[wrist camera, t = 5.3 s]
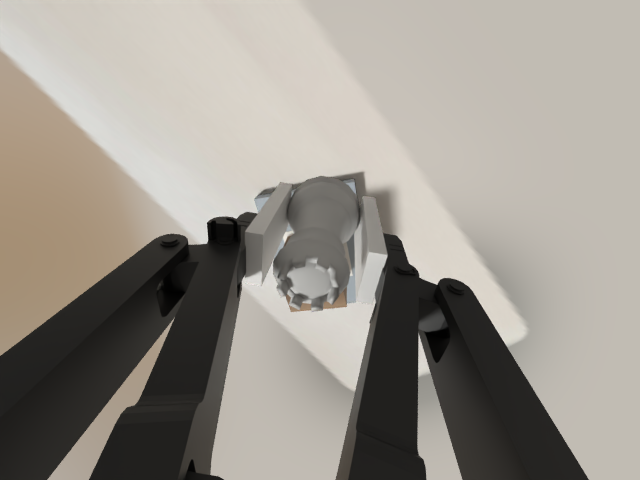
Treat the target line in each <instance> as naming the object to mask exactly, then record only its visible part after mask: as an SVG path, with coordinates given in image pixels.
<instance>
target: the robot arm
mask: <svg viewBox="0 0 640 480" xmlns="http://www.w3.org/2000/svg"><path fill="white" fill-rule="evenodd" d="M291 196H292V184H288V183H282V182H280V184H279V185H278V186H277V188H276V189H275V190H274V192H273V193H272V195H271V196H270V197H269V199H268V200H267V202H266V203H265V204H264V206H263V207H262V209H261V210H260V211H259V213H258V214H256V213H250V212H246V213H244V214H241V215H240V216H239V217H238V218H237V219H235V218H233V217H217V218H213V219H211V220H209V221H208V222H207V228H208V243H207V244H201V245H188V239H187V238H186V237H185V236H182V235H179V234H167V235H163V236H160V237H158V238H156V239H154V240H153V241H151V242H150V243H149V244H147V245H146V246H145V247H144V248H142V249H141V250H140V251H138V252H137V253H136V254H135V255H133V256H132V257H130V258H129V259H128V260H126V261H125V262H124V263H122V264H121V265H120V266H118V267H117V268H116V269H115V270H113V271H112V272H111V273H109V274H108V275H107V276H105V277H104V278H103V279H101V280H100V281H99V282H97V283H96V284H95V285H93V286H92V287H91V288H89V289H88V290H87V291H86V292H84V293H83V294H82V295H80V296H79V297H78V298H76V299H75V300H74V301H72V302H71V303H70V304H68V305H67V306H66V307H64V308H63V309H62V310H60V311H59V312H58V313H57V314H55V315H54V316H53V317H51V318H50V319H49V320H47V321H46V322H45V323H44V324H42V325H41V326H39V327H38V328H37V329H35V330H34V331H33V332H32V333H30V334H29V335H28V336H26V337H25V338H24V339H22V340H21V341H20V342H18V343H17V344H16V345H14V346H13V347H12V348H11V349H9V350H8V351H6V352H5V353H4V354H3V355H1V356H0V480H47V479H48V478H49V477H50V475H51V474H52V473H53V471H54V470H55V469H56V468H57V466H58V465H59V464H60V463H61V461H62V460H63V459H64V457H65V456H66V455H67V454H68V452H69V451H70V450H71V449H72V447H73V446H74V445H75V443H76V442H77V441H78V439H79V438H80V437H81V436H82V435H83V433H84V432H85V431H86V430H87V428H88V427H89V426H90V424H91V423H92V422H93V421H94V419H95V418H96V417H97V416H98V414H99V413H100V412H101V410H102V409H103V408H104V407H105V405H106V404H107V403H108V401H109V400H110V399H111V398H112V396H113V395H114V394H115V393H116V391H117V390H118V389H119V388H120V386H121V385H122V384H123V382H124V381H125V380H126V378H127V377H128V376H129V375H130V373H131V372H132V371H133V369H134V368H135V367H136V366H137V365H138V363H139V362H140V361H141V359H142V358H143V357H144V356H145V354H146V353H147V352H148V350H149V349H150V348H151V347H152V345H153V344H154V343H155V342H156V340H157V339H158V338H159V337H160V335H161V334H162V333H163V331H164V330H165V329H166V328H167V326H168V325H169V324H170V323H171V321H172V320H173V319H174V317H175V319H174V321H173V323H172V326H171V328H170V330H169V333H168V335H167V337H166V339H165V342H164V344H163V347H162V349H161V351H160V353H159V356H158V358H157V360H156V362H155V365H154V367H153V369H152V372H151V374H150V376H149V379H148V381H147V383H146V385H145V388H144V390H143V392H142V395H141V397H140V399H139V401H138V402H137V403H136V404H135V405H134V406H131V407H127V408H126V409H125V410H124V411H123V413H122V414H121V415H120V417H119V419H118V420H117V422H116V424H115V426H114V428H113V430H112V432H111V434H110V436H109V439H108V441H107V443H106V445H105V447H104V449H103V451H102V453H101V456H100V458H99V460H98V462H97V464H96V466H95V468H94V470H93V473H92V475H91V477H90V479H89V480H224V479H222V478H220V477H218V476H212V475H210V470H211V458H212V451H213V445H214V439H215V434H216V428H217V423H218V417H219V411H220V406H221V401H222V395H223V390H224V384H225V378H226V373H227V367H228V362H229V356H230V350H231V345H232V340H233V334H234V329H235V323H236V317H237V312H238V306H239V301H240V295H241V290H242V279H243V277H244V276H245V284H250V285H256V286H262V284H263V282H264V279H265V277H266V275H267V273H268V270H269V268H270V266H271V264H272V261H273V259H274V257H275V255H276V252H277V250H278V248H279V245H280V243H281V241H282V239H283V236H284V234H285V232H286V230H287V227H288V225H289V222H288V205H289V203H290V201H291ZM354 245H355V286H356V302H358V303H364V304H370V305H373V301H374V298H375V299H376V304H375V307H374V310H373V313H372V317H371V320H370V328H369V332H368V337H367V341H366V346H365V350H364V355H363V359H362V364H361V368H360V373H359V377H358V382H357V386H356V391H355V396H354V400H353V405H352V409H351V413H350V418H349V423H348V427H347V431H346V436H345V440H344V445H343V450H342V454H341V458H340V464H339V468H338V472H337V476H336V480H426V469H425V464H424V460H423V459H422V458H421V457H420V456H419V454H418V450H417V422H418V421H417V420H418V331H419V335H420V339H421V342H422V345H423V349H424V352H425V355H426V359H427V362H428V365H429V369H430V372H431V375H432V379H433V382H434V386H435V389H436V392H437V395H438V399H439V402H440V406H441V409H442V412H443V416H444V419H445V422H446V425H447V429H448V432H449V435H450V439H451V442H452V446H453V449H454V453H455V456H456V459H457V463H458V466H459V469H460V473H461V476H462V479H463V480H589V479H588V478H587V476H586V474H585V473H584V471H583V469H582V468H581V466H580V465H579V463H578V461H577V460H576V458H575V456H574V455H573V453H572V452H571V450H570V448H569V447H568V445H567V444H566V442H565V440H564V439H563V437H562V435H561V434H560V432H559V431H558V429H557V427H556V426H555V424H554V423H553V421H552V419H551V418H550V416H549V414H548V413H547V411H546V410H545V408H544V406H543V405H542V403H541V401H540V400H539V398H538V397H537V395H536V394H535V392H534V390H533V388H532V387H531V385H530V384H529V382H528V380H527V379H526V377H525V376H524V374H523V372H522V371H521V369H520V367H519V366H518V364H517V363H516V361H515V359H514V358H513V356H512V354H511V353H510V351H509V350H508V348H507V346H506V345H505V343H504V342H503V340H502V338H501V337H500V335H499V333H498V332H497V330H496V329H495V327H494V325H493V324H492V322H491V320H490V319H489V317H488V316H487V314H486V312H485V311H484V309H483V308H482V306H481V304H480V303H479V301H478V299H477V298H476V296H475V295H474V293H473V291H472V290H471V289H470V288H469V287H468V286H467V285H465V284H464V283H463V282H461V281H458V280H455V279H451V278H444V279H441V280H440V281H439V283H438V285H436V284H433V283H430V282H428V281H425V280H423V279H421V278H419V273H418V271H417V270H416V268H415V267H413V266H412V265H410V264H409V263H408V260H407V257H406V253H405V250H404V248H403V244H402V241H401V240H400V239H399V238H398V237H397V236H396V235H390V234H384V233H383V231H382V227H381V222H380V218H379V213H378V208H377V204H376V199H375V197H369V196H363V197H362V202H361V206H360V212H359V221H358V226H357V229H356V230H355V233H354Z"/></svg>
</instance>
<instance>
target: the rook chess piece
mask: <svg viewBox="0 0 640 480" xmlns="http://www.w3.org/2000/svg"><path fill="white" fill-rule="evenodd" d="M359 212H360V206H359V202H358V198H357V196H356V194H355V193H354V192H353V190H352V189H351V188H350V187H349V185H347V184H345V183H344V182H342V181H340V180H338V179H337V178H332V177H324V176H319V177H316V178H312V179H308V180H306V181H305V182H304V183H302V184H301V185H300V186H298V187H297V188H296V190H295V191H294V193H293V195H292V197H291V201H290V203H289V205H288V222H289V225H290V227H291V230H292V233H293V235H291V237H290V239H289V240H288V242H287V244H286V246H285V247H283V248H282V249H280V250H279V252H278V254H277V256H276V257H275V259H274V261H273V274H274V277H275V279H276V281H277V283H278V285H277V290H278V292H279V295H280V297H283V296H286V295H287V294H288V295H289V296H290V297H291V299H290V303H289V305H290V306H292V307H294V308H296V309H298V310H300V308H301V305H302V303H308V304H311V312H314V311H321V310H323V305H324V302H326V301H327V302H329V303H330V304H332V305H333V304H334V303H335V301H336V300H337V299H338V297H339V295H340V294H341V293H342V292H343V290H344V289H345V288H346V287H347V285H348V283H349V278H350V273H351V272H350V269H349V265H348V262H347V259H346V258H345V254H346V253H345V249H344V246H343V244H344V243H345V242H347V241H348V240H349V239H350V238H351V236H352V235H353V233H354V232H355V230H356V229H357V226H358V221H359Z"/></svg>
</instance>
